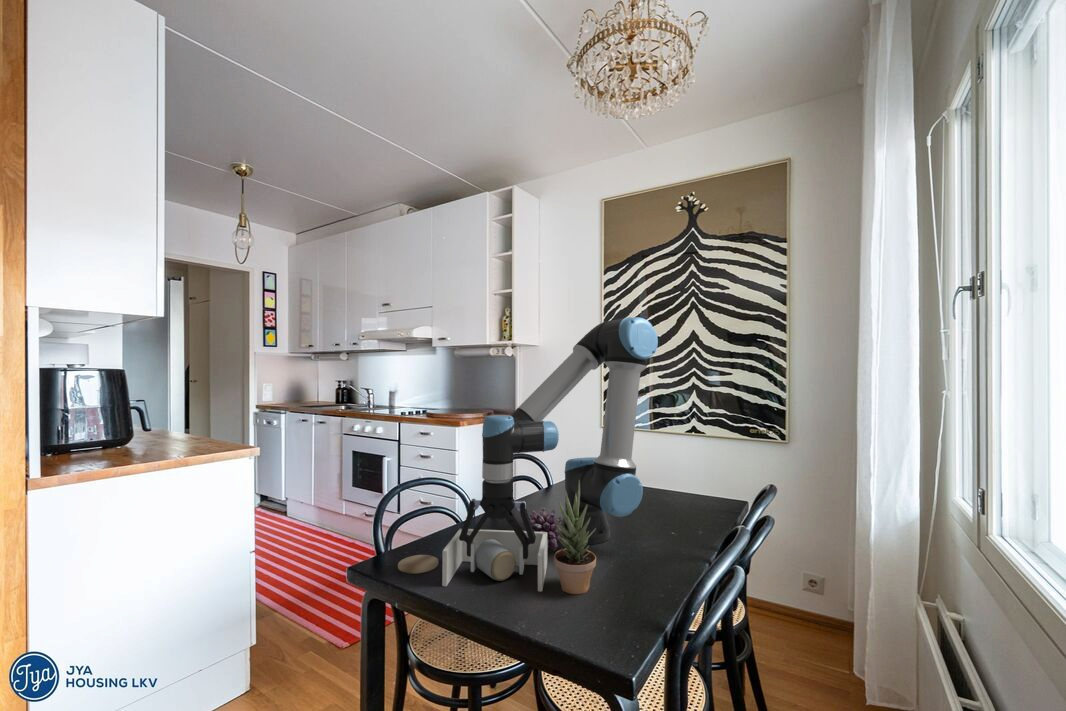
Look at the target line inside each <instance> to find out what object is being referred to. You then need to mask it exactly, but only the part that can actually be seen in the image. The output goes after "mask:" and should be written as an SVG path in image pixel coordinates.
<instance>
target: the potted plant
mask: <svg viewBox="0 0 1066 711" xmlns="http://www.w3.org/2000/svg"><path fill="white" fill-rule="evenodd" d="M565 498H566V504H567V509H568V516H567V515H566V513H565V508H564V507H563V505H562V502H561V501H558V505H559V508H560V512H561V515H562V517H563V518H564V520H565V523H566V525H567V528H568V529H566V528H565V527H564V526H562V525H561V524H560V523H561V522H560V523H559V522H558V520H557V519H556V518H557V517H554V518H555V520H556V522H557V524H558V526H559V527H560V528H561V530H562V531H563V533H564V534H565V536H566V537H567V538H566V537H565V536H564V535H563V534H562V533H561V531H560V530H559V528H558V527H557V525H556V523H555V522H554V523H555V526H556V528H557V530H558V532H559V534H560V535H561V537H562V538H561V539H562V540H560V539H559V538H558V537H557V539H558V540H559V541H558V542H559V543H560V544H561V545H562V546H563V547H564V548H563V547H560V548H561V549H560V550H557V551H555V553H554V555H553V561H554V562H553V563H554V565H555V566H556V569H557V573H558V576H559V577H558V578H559V582H560V585H561V589H562V591H563V592H566V593H567V594H571V595H581V594H585V593H587V592H588V591H589V589H590V586H591V584H590V583H591V578H592V575H593V572H594V569H595V567H596V565H597V556H596V555H595V553H594V552H592V551H590V550H588V549H589V547H590V545H588V544H587V543H588V538H589V537H590V536H591V535H592V533H593V532H594V531H595V529H596V528H595V529H594V530H593V531H592V532H591V533H590V534H589V535H588V533H589V531H588V532H587V533H586V528H587V526H588V524H589V522H590V518H591V517H590V518H589V519H588V521H587V522H586V524H585V525H584V526H583V527H582V525H583V520H584V516H585V513H586V510H587V505H586V507H585V508H584V510H583V512H582V514H581V516H580V517H579V519H578V516H579V502H580V480H579V484H578V496H576V493H575V500H574V504H573V512H572V508H571V505H570V502H569V499H568V496H567V493H566V490H565V489H564V499H565ZM587 535H588V536H587ZM587 545H588V546H587Z"/></svg>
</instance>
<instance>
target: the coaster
mask: <svg viewBox="0 0 1066 711" xmlns="http://www.w3.org/2000/svg"><path fill="white" fill-rule="evenodd" d="M438 566H439V558H437V557H436V556H433V555H429V554H416V555H411V556H407V557H405V558H403V559H401V560H400V561H399V562H398V563H397V570H398V571H400V572H402V573H403V574H410V575H413V574H423V573H429V572H430V571H433V570H435V569H437V567H438Z"/></svg>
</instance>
